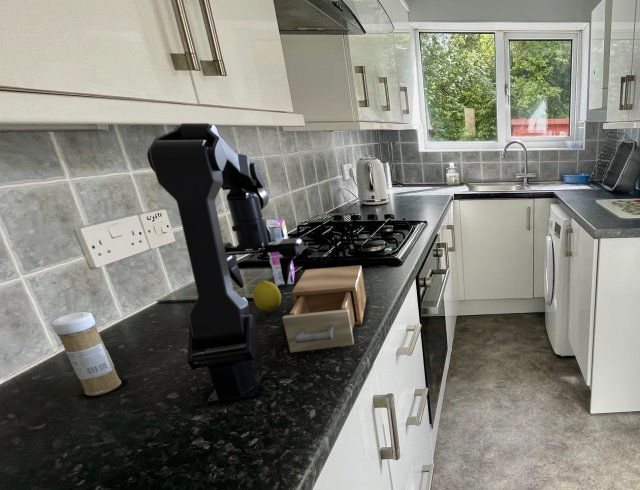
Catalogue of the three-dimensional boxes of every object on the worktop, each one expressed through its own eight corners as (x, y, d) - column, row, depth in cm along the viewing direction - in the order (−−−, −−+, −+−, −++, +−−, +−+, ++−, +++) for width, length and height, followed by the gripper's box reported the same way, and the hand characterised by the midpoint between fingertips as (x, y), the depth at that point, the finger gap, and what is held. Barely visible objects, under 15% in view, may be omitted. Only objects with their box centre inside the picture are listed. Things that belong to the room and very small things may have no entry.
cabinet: (361, 324, 90) (355, 286, 87) (299, 331, 87) (291, 292, 84) (366, 299, 103) (361, 265, 100) (312, 304, 101) (305, 269, 97)
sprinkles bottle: (122, 377, 72) (92, 308, 67) (121, 389, 68) (89, 318, 63) (86, 387, 69) (52, 316, 64) (83, 400, 66) (47, 326, 61)
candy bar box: (295, 284, 113) (282, 226, 107) (274, 287, 111) (260, 228, 105) (296, 272, 122) (284, 218, 116) (277, 274, 120) (264, 219, 114)
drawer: (351, 356, 76) (345, 321, 74) (284, 365, 74) (275, 329, 71) (359, 315, 92) (354, 286, 90) (304, 321, 90) (298, 291, 87)
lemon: (272, 318, 93) (264, 286, 90) (252, 316, 94) (243, 284, 91) (289, 308, 98) (282, 277, 95) (269, 306, 99) (262, 275, 96)
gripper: (302, 209, 97) (314, 270, 103) (213, 213, 93) (231, 277, 99) (291, 218, 87) (305, 286, 93) (191, 224, 83) (213, 294, 89)
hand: (264, 285), depth 94 cm, fingers open, 9 cm apart
